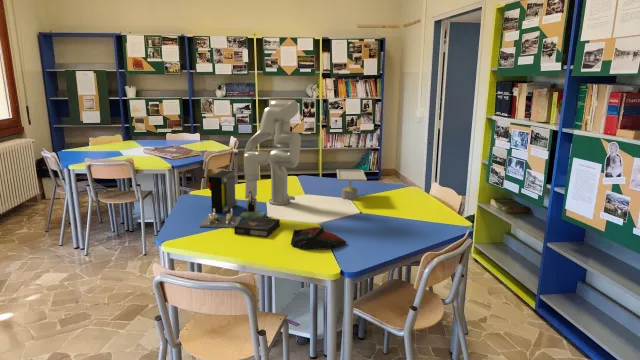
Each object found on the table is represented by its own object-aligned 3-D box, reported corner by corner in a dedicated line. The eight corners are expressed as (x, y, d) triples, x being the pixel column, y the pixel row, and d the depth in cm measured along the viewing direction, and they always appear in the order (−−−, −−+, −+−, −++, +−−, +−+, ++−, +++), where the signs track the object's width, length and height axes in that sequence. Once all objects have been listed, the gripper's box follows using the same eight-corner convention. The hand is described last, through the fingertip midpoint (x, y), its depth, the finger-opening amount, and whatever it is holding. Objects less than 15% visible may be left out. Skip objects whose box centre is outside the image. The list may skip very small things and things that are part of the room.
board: (264, 214, 235) (264, 198, 233) (262, 218, 228) (262, 201, 226) (242, 214, 235) (242, 197, 233) (239, 218, 228) (239, 201, 226)
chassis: (241, 218, 227) (241, 207, 225) (236, 227, 213) (235, 216, 212) (207, 218, 227) (206, 207, 225) (199, 227, 213) (199, 215, 212)
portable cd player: (234, 235, 204) (234, 227, 204) (249, 223, 221) (249, 216, 220) (266, 238, 200) (266, 230, 199) (279, 227, 216) (279, 219, 215)
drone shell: (284, 245, 192) (284, 228, 190) (311, 233, 207) (311, 217, 205) (323, 257, 180) (324, 239, 178) (349, 243, 195) (349, 227, 193)
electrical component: (226, 213, 235) (224, 177, 230) (208, 212, 237) (207, 176, 232) (238, 204, 252) (237, 171, 247) (222, 203, 254) (220, 170, 249)
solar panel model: (365, 204, 257) (366, 179, 254) (336, 203, 257) (337, 178, 254) (362, 192, 284) (362, 169, 281) (335, 191, 284) (336, 169, 281)
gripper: (247, 173, 235) (247, 205, 239) (241, 180, 218) (242, 214, 222) (260, 173, 235) (261, 205, 239) (256, 180, 218) (256, 214, 222)
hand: (252, 209), depth 231 cm, fingers open, 6 cm apart
